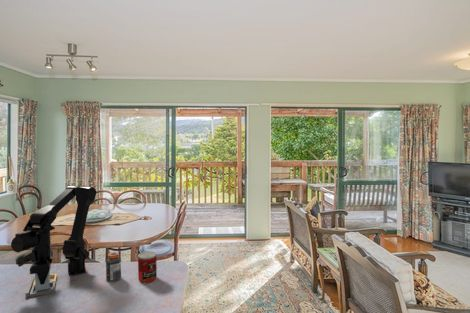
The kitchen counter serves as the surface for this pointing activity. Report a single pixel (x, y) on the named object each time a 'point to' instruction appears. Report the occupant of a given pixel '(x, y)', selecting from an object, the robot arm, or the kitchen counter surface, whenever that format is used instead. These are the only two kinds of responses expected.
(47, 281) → the blue-grey box
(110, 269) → the pill bottle
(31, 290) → the cubby shelf with drawer
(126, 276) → the kitchen counter surface
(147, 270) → the canned food
